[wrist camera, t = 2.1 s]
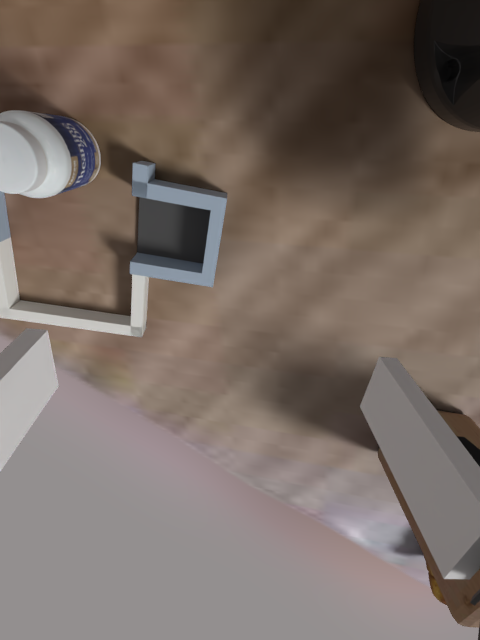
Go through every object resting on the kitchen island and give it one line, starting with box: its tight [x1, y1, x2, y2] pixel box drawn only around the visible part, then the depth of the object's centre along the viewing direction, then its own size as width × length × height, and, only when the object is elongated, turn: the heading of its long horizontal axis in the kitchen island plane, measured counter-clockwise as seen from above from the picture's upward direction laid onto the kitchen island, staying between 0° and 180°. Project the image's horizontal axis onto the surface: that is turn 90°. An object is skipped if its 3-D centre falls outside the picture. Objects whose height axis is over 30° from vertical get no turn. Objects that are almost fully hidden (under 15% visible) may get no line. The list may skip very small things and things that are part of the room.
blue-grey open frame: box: [0, 161, 227, 287], centre depth 29 cm, size 10×21×3 cm, turn 79°
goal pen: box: [0, 237, 149, 337], centre depth 33 cm, size 8×14×2 cm, turn 79°
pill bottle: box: [0, 110, 101, 198], centre depth 24 cm, size 5×5×10 cm
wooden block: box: [378, 411, 480, 627], centre depth 38 cm, size 10×10×20 cm
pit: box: [137, 197, 211, 264], centre depth 32 cm, size 6×7×1 cm
